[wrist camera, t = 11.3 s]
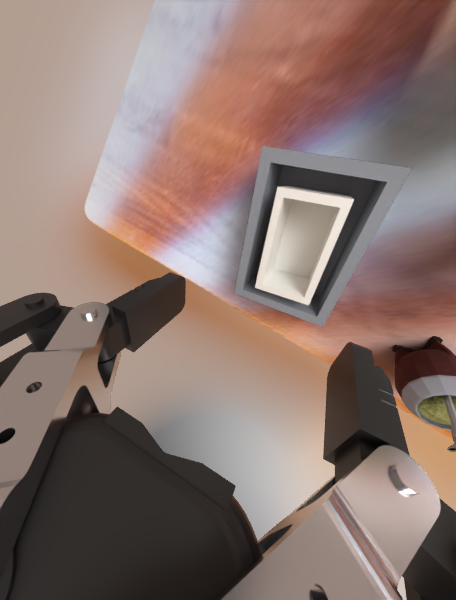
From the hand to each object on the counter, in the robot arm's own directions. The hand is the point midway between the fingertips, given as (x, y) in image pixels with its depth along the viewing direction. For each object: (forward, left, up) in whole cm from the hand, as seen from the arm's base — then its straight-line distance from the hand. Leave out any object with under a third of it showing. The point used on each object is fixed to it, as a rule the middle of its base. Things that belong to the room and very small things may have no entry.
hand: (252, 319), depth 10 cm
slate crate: (0, 0, -19) cm, 19 cm away
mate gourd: (+10, +18, -19) cm, 28 cm away
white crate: (0, 0, -18) cm, 18 cm away
